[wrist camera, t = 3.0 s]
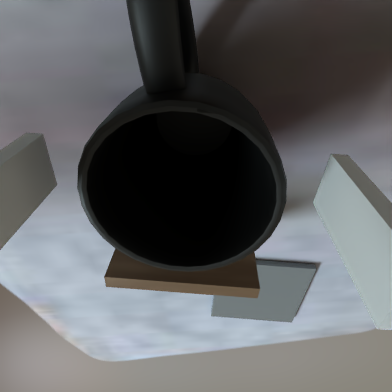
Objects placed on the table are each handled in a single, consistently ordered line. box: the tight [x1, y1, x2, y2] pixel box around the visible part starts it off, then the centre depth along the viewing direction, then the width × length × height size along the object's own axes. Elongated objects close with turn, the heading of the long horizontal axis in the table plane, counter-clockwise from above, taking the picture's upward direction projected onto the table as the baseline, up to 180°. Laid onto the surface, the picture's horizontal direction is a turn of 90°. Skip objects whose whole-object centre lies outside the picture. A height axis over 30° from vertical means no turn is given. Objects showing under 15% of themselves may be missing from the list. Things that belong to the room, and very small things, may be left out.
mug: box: [77, 0, 287, 272], centre depth 14 cm, size 8×12×10 cm
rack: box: [104, 249, 260, 298], centre depth 15 cm, size 19×10×7 cm, turn 177°
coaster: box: [211, 260, 316, 322], centre depth 28 cm, size 9×9×1 cm
